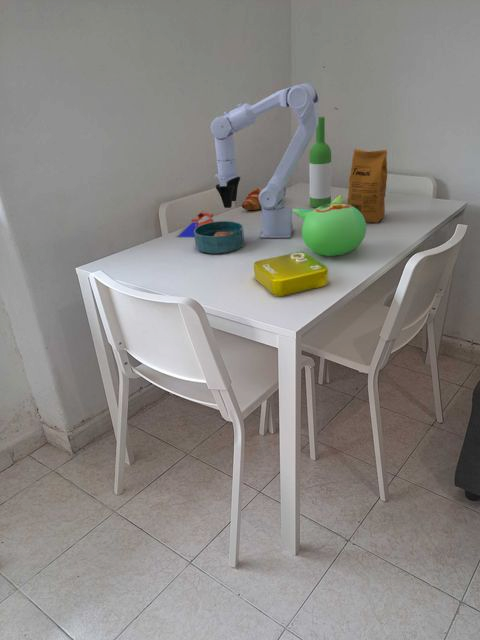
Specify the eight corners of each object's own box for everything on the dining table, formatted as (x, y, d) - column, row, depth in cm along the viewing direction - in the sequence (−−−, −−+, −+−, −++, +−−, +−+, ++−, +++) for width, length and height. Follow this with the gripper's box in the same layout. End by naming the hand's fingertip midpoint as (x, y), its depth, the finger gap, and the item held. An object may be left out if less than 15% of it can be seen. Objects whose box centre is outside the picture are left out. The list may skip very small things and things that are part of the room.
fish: (195, 208, 171) (219, 208, 169) (197, 222, 173) (220, 222, 171) (183, 220, 160) (208, 219, 158) (185, 234, 162) (210, 234, 161)
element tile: (252, 277, 130) (250, 260, 127) (303, 265, 134) (302, 248, 132) (276, 298, 118) (275, 280, 115) (330, 285, 122) (331, 266, 120)
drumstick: (239, 241, 153) (238, 229, 150) (237, 246, 149) (235, 234, 147) (203, 242, 155) (201, 229, 152) (199, 247, 151) (197, 234, 149)
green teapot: (319, 268, 132) (319, 214, 124) (291, 250, 145) (289, 199, 137) (376, 255, 137) (379, 202, 130) (343, 238, 151) (345, 189, 143)
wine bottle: (306, 207, 182) (304, 118, 167) (315, 202, 188) (315, 115, 172) (325, 209, 179) (325, 118, 163) (334, 203, 184) (335, 115, 169)
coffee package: (354, 212, 173) (356, 145, 162) (388, 216, 167) (393, 147, 155) (342, 220, 166) (343, 151, 155) (377, 225, 160) (381, 153, 148)
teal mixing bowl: (248, 237, 157) (246, 220, 154) (239, 254, 145) (237, 236, 142) (203, 238, 160) (200, 221, 157) (190, 254, 147) (187, 237, 144)
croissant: (273, 206, 198) (265, 187, 197) (291, 197, 191) (283, 177, 189) (238, 219, 184) (229, 199, 183) (256, 210, 177) (247, 189, 176)
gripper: (218, 155, 157) (223, 198, 164) (207, 164, 145) (212, 210, 152) (240, 154, 156) (243, 197, 163) (231, 163, 144) (235, 210, 151)
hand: (230, 204), depth 158 cm, fingers open, 7 cm apart
